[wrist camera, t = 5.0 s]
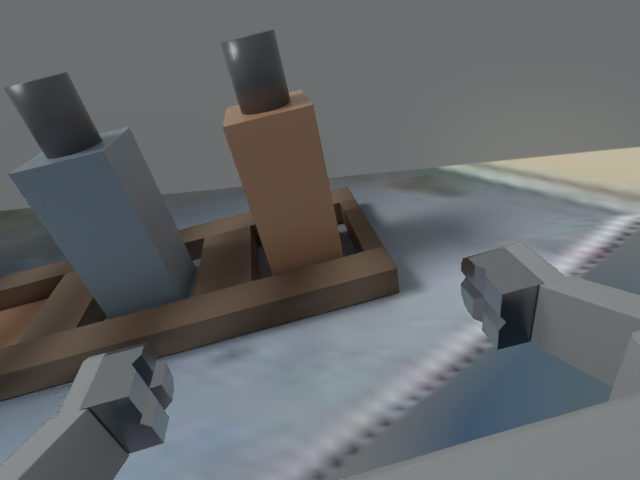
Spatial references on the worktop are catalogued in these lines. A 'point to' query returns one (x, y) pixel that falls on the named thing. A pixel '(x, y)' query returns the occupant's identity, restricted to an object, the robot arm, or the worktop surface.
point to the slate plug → (99, 202)
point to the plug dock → (181, 301)
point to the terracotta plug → (279, 157)
